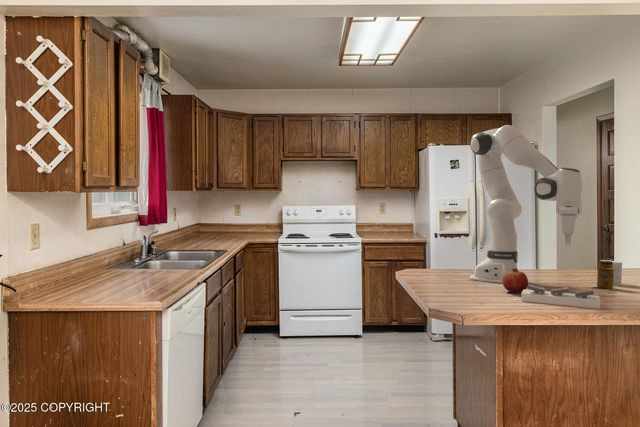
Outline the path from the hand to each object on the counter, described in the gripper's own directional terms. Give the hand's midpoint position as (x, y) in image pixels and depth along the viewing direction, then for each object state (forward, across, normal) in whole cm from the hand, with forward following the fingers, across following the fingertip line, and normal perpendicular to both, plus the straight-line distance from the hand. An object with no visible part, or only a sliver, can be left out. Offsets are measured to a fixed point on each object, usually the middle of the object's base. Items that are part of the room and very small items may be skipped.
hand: (567, 244), depth 187 cm
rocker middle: (+16, +11, -2) cm, 20 cm away
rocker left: (+16, +11, -10) cm, 22 cm away
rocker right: (+16, +11, +6) cm, 21 cm away
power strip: (+21, +10, -2) cm, 23 cm away
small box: (+21, -44, +17) cm, 52 cm away
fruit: (+21, -2, -19) cm, 29 cm away
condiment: (+21, -30, +14) cm, 39 cm away
